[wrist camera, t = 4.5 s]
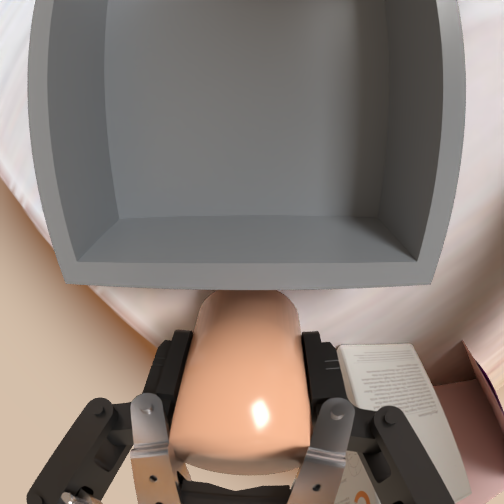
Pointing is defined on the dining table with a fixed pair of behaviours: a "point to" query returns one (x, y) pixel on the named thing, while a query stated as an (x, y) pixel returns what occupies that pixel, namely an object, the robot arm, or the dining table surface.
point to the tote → (247, 140)
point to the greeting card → (476, 432)
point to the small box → (412, 405)
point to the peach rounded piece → (244, 387)
